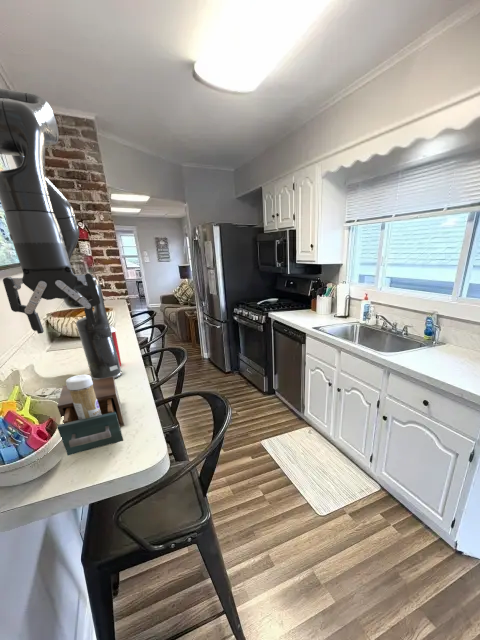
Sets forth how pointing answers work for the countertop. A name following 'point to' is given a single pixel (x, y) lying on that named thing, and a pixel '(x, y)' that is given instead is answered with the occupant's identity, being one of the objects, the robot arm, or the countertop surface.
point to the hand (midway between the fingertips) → (66, 329)
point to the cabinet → (102, 391)
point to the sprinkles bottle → (83, 396)
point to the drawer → (90, 429)
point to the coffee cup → (115, 342)
